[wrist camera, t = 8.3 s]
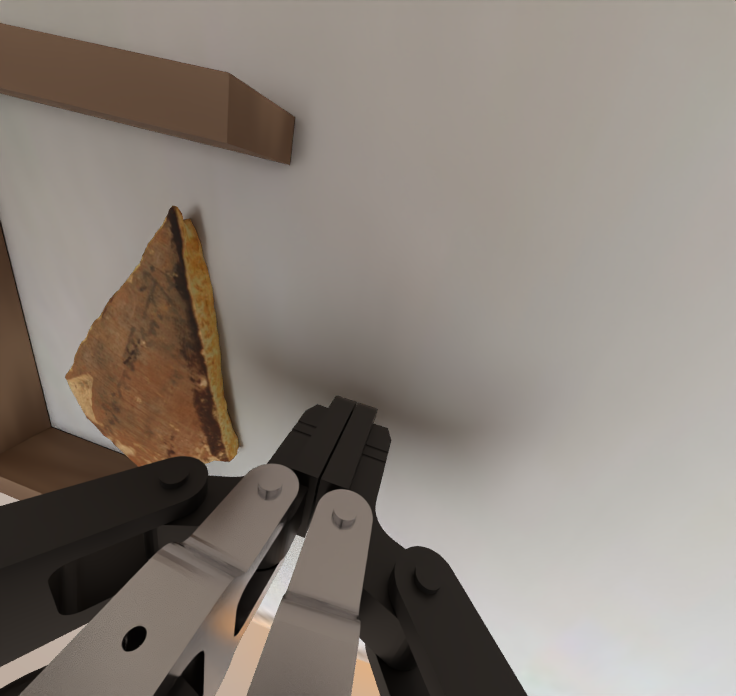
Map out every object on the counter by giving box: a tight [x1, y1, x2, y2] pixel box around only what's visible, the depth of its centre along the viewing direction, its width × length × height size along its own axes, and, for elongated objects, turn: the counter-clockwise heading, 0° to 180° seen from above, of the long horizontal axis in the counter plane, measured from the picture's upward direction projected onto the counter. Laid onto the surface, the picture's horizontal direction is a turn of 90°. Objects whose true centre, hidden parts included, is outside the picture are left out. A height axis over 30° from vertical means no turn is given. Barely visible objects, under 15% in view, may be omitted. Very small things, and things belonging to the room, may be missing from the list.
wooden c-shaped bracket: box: [0, 23, 295, 500], centre depth 12 cm, size 17×13×3 cm
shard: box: [65, 206, 239, 467], centre depth 13 cm, size 11×8×2 cm
